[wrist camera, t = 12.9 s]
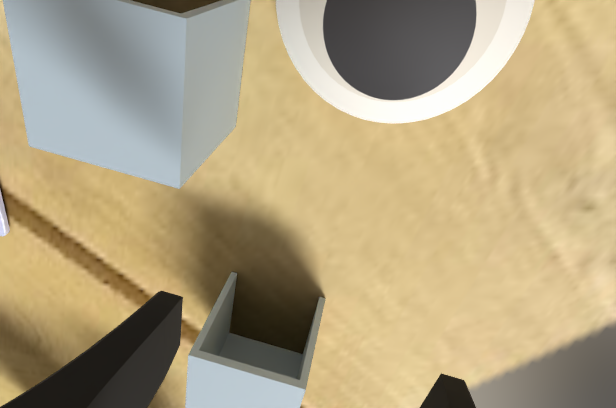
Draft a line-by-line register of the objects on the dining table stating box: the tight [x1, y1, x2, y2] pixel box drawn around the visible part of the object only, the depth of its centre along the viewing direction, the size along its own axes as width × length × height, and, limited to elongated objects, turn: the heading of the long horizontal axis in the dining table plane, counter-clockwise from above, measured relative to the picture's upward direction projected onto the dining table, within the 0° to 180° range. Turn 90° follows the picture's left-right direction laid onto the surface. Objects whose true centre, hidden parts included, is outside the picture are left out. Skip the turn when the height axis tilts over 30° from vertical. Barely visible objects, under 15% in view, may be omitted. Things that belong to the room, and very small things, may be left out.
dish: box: [276, 0, 535, 123], centre depth 16 cm, size 9×9×1 cm
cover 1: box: [3, 0, 250, 189], centre depth 16 cm, size 6×6×6 cm
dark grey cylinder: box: [323, 0, 477, 100], centre depth 13 cm, size 4×4×4 cm
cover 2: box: [185, 272, 325, 408], centre depth 24 cm, size 6×6×6 cm
